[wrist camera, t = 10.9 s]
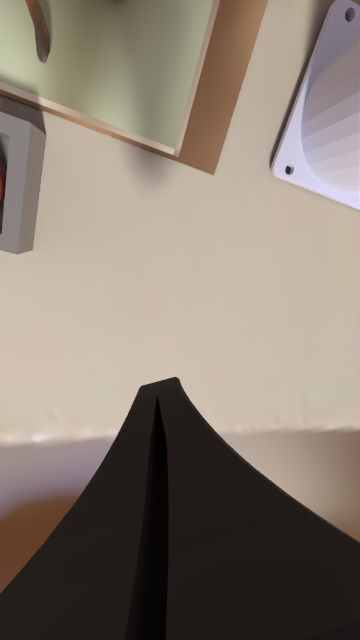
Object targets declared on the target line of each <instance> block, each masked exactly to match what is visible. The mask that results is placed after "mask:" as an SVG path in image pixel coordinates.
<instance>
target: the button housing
mask: <svg viewBox="0 0 360 640" xmlns="http://www.w3.org/2000/svg"><path fill="white" fill-rule="evenodd" d="M45 141H46V134H44V133H43V132H42V131H41V130H39V129H38V128H37V127H36V126H34V125H33V124H32V123H31V122H28V121H25V120H22V119H20V118H17V117H14V116H11V115H9V114H6V113H3V112H0V160H1V161H2V163H3V165H4V168H5V170H6V174H7V176H6V188H5V199H4V201H3V202H2V203H1V205H0V250H2V251H6V252H10V253H14V254H20V253H24V252H27V251H30V250H32V248H33V240H34V232H35V223H36V215H37V207H38V199H39V190H40V182H41V174H42V165H43V157H44V149H45Z"/></svg>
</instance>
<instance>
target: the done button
mask: <svg viewBox="0 0 360 640" xmlns="http://www.w3.org/2000/svg"><path fill="white" fill-rule="evenodd" d="M6 176H7V174H6V170H5V168H4V165H3V163H2V161H1V160H0V205H1V203H2V202H3V201H4V199H5V188H6Z"/></svg>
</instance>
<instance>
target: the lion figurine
mask: <svg viewBox="0 0 360 640" xmlns="http://www.w3.org/2000/svg"><path fill="white" fill-rule="evenodd" d="M25 1H26V4H27V7H28V10H29V13H30V16H31V18H32V21H33V25H34V29H35V41H36V51H37V56H38V58H39V61H41V62H42V63H46V62H47V58H48V55H49V53H50V47H51V46H50V38H49V33H48V29H47V26H46V23H45V18H44V14H43V11H42V9H41V6H40V3H39V1H38V0H25ZM117 1H122V0H117Z"/></svg>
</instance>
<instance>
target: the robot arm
mask: <svg viewBox="0 0 360 640" xmlns="http://www.w3.org/2000/svg"><path fill="white" fill-rule="evenodd" d="M345 13H347V14H348V15H349V22H347V21H346V19H345ZM287 166H289V167H290V169H291V170H290V173H289V175H287V174H286V172H285V168H286V167H287ZM271 172H272V174H273V175H274V176H275V177H277V178H280V179H282V180H285V181H287V182H290V183H292V184H295V185H297V186H300V187H302V188H305V189H307V190H310V191H312V192H315V193H317V194H320V195H322V196H325V197H327V198H330V199H332V200H335V201H337V202H340V203H343V204H345V205H348V206H350V207H353V208H355V209H358V210H360V5H358V4H356V3H355V2H353V1H351V0H335V1H334V2H333V4H332V5H331V6H330V8H329V10H328V13H327V15H326V18H325V21H324V23H323V26H322V29H321V32H320V34H319V37H318V40H317V42H316V45H315V48H314V51H313V53H312V56H311V59H310V61H309V64H308V67H307V70H306V72H305V75H304V78H303V80H302V83H301V86H300V89H299V91H298V94H297V97H296V99H295V102H294V105H293V108H292V110H291V113H290V116H289V119H288V121H287V124H286V127H285V129H284V132H283V135H282V138H281V140H280V143H279V146H278V148H277V151H276V154H275V157H274V159H273V162H272V165H271ZM0 640H360V542H359V541H357V540H356V539H354V538H352V537H351V536H349V535H348V534H346V533H344V532H343V531H341V530H340V529H338V528H336V527H335V526H334V525H332V524H331V523H329V522H327V521H326V520H324V519H323V518H321V517H320V516H318V515H317V514H315V513H314V512H312V511H311V510H310V509H308V508H307V507H305V506H304V505H302V504H301V503H300V502H298V501H297V500H296V499H294V498H293V497H291V496H290V495H288V494H287V493H286V492H285V491H283V490H282V489H280V488H279V487H278V486H276V484H274V483H273V482H272V481H270V480H269V479H268V478H267V477H265V476H264V475H263V474H261V473H260V472H259V471H257V470H256V469H255V468H254V467H253V466H251V465H250V464H249V463H248V462H247V461H246V460H245V459H243V458H242V457H241V456H240V455H239V454H238V453H237V452H236V451H235V450H234V449H233V448H232V447H230V446H229V445H228V444H227V443H226V442H225V441H224V440H223V439H222V438H221V437H220V436H219V435H218V434H217V432H216V431H215V430H214V429H213V428H212V427H211V426H210V425H209V424H208V423H207V421H206V420H205V419H204V418H203V417H202V415H201V414H200V413H199V411H198V410H197V409H196V408H195V406H194V405H193V404H192V402H191V401H190V399H189V398H188V396H187V395H186V393H185V391H184V389H183V388H182V386H181V383H180V380H179V378H177V377H173V378H169V379H165V380H162V381H158V382H154V383H151V384H147V385H143V386H141V387H140V389H139V390H138V393H137V395H136V397H135V400H134V402H133V404H132V406H131V409H130V411H129V413H128V415H127V417H126V419H125V421H124V423H123V425H122V427H121V429H120V431H119V433H118V435H117V437H116V439H115V440H114V442H113V444H112V446H111V448H110V449H109V451H108V453H107V455H106V456H105V458H104V460H103V462H102V463H101V465H100V466H99V468H98V470H97V471H96V473H95V474H94V476H93V477H92V479H91V480H90V482H89V483H88V485H87V486H86V488H85V489H84V491H83V492H82V494H81V495H80V497H79V498H78V499H77V501H76V502H75V504H74V505H73V506H72V508H71V509H70V510H69V511H68V513H67V514H66V515H65V517H64V518H63V519H62V521H61V522H60V523H59V524H58V526H57V527H56V528H55V530H54V531H53V532H52V533H51V535H50V536H49V537H48V539H47V540H46V541H45V543H44V544H43V545H42V546H41V547H40V548H39V550H38V551H37V552H36V553H35V554H34V556H33V557H32V558H31V559H30V560H29V561H28V563H27V564H26V565H25V566H24V567H23V568H22V570H21V571H20V572H19V573H18V574H17V575H16V577H15V578H14V579H13V580H12V581H11V582H10V583H9V584H8V585H7V587H6V588H5V589H4V590H3V591H2V592H1V594H0Z"/></svg>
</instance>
